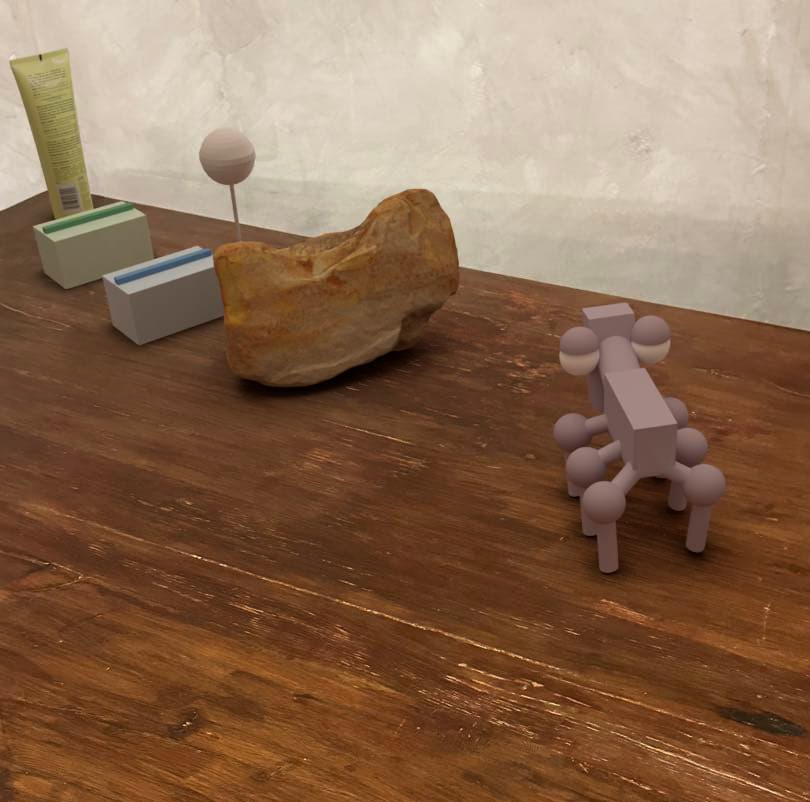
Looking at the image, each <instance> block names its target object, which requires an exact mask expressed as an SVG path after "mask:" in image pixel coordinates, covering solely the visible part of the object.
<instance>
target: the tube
mask: <svg viewBox="0 0 810 802" xmlns="http://www.w3.org/2000/svg"><path fill="white" fill-rule="evenodd" d="M70 62H71V61H70V52H69V48H68V47H64V48H59V49H55V50H50V51H47V52H42V53H37V54H33V55H28V56H23V57H16V58H11V59H9V62H8V63H9V67H10V69H11V72H12V74H13V78H14V80H15V82H16V85H17V88H18V92H19V95H20V98H21V101H22V104H23V108H24V111H25V113H26V118H27V121H28V124H29V127H30V131H31V135H32V138H33V142H34V145H35V148H36V149H35V150H36V151H37V152H36V153H37V155H38V159H39V163H40V166H41V171H42V174H43V178H44V181H45V186H46V189H47V193H48V197H49V201H50V206H51V209H52V213H53V217H54V220H57V219H60V218H64V217H67V216H71V215H74V214H78V213H82V212H85V211H89V210H92V209H94V205H93V199H92V194H91V187H90V182H89V178H88V177H89V176H88V171H87V167H86V161H85V155H84V150H83V143H82V138H81V131H80V126H79V119H78V114H77V113H78V112H77V107H76V100H75V94H74V85H73V78H72V71H71V63H70Z"/></svg>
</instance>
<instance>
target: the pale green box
mask: <svg viewBox="0 0 810 802" xmlns="http://www.w3.org/2000/svg"><path fill="white" fill-rule="evenodd" d="M32 229H33V234H34V238H35V241H36V245H37V248H38V253H39V257H40V260H41V264H42V268H43V273H44V274H45V275H46V276H48V277H49V278H50V279H52V280H53V281H54V282H55V283H57V284H58V285H59V286H61V287H62V288H63V289H64V290H69V289H72V288H75V287H79V286H83V285H85V284H88V283H91V282H95V281H98V280H101V279H103V278H102V276H103V275H106V274H109V273H112V272H115V271H118V270H122V269H125V268H128V267H131V266H134V265H138V264H141V263H144V262H147V261H150V260H154V259H155V256H154V255H155V254H154V252H153V250H154V249H153V245H152V240H151V233H150V230H149V224H148V219H147V215H146V214H145V213H143V212H142V211H140V210H138V209H136V208H135V207H134V204H133V203H132V202H131V201H130V202H125V201H123V200H121V201H117V202H113V203H111V204H107V205H103V206H100V207H96V208H93V209H92V210H89V211H85V212H82V213H78V214H74V215H71V216H67V217H64V218H60V219H57V220H56V219H54V220H49V221H46V222H43V223H39V224H36V225H33V226H32Z"/></svg>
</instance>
